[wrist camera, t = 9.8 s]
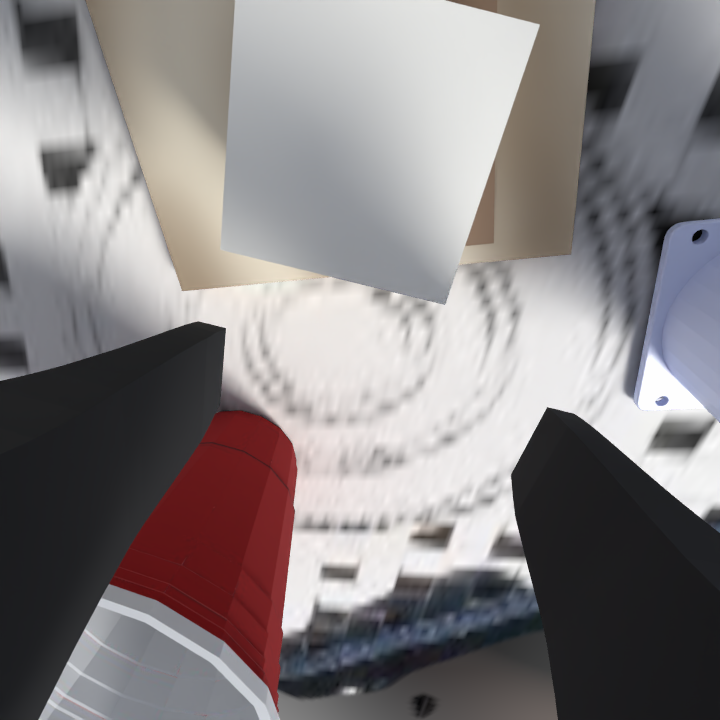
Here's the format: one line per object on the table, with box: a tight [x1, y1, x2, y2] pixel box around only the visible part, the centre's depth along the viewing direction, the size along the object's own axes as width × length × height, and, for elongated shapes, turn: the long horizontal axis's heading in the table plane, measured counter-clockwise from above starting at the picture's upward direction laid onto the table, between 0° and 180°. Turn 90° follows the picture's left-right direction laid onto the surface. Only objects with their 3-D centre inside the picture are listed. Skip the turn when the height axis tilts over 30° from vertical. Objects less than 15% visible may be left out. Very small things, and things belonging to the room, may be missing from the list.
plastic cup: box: [39, 411, 297, 720], centre depth 18 cm, size 11×11×12 cm
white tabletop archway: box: [220, 0, 540, 305], centre depth 12 cm, size 6×6×6 cm
